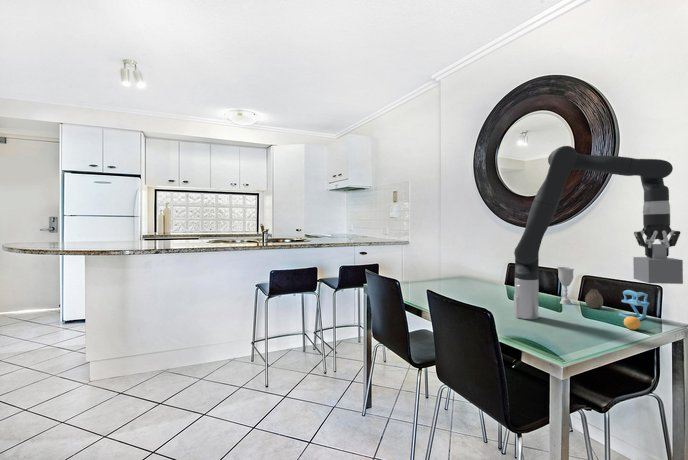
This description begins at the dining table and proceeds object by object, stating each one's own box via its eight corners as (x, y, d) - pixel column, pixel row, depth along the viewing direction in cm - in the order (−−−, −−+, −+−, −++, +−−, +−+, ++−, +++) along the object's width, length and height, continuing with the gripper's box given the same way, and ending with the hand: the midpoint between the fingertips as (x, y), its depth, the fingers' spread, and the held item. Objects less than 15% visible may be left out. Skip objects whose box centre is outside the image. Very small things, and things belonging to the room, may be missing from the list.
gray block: (648, 283, 123) (648, 245, 122) (633, 278, 132) (633, 243, 132) (682, 283, 120) (682, 245, 119) (664, 279, 129) (664, 243, 129)
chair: (652, 319, 138) (652, 291, 138) (637, 321, 136) (637, 292, 136) (632, 314, 146) (633, 287, 145) (618, 315, 144) (618, 288, 144)
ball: (627, 330, 125) (627, 317, 125) (621, 326, 130) (621, 314, 130) (643, 331, 124) (643, 318, 123) (636, 327, 128) (636, 315, 128)
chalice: (574, 302, 167) (574, 267, 167) (574, 305, 161) (575, 269, 161) (557, 300, 171) (557, 266, 171) (557, 303, 165) (557, 268, 165)
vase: (606, 309, 153) (606, 291, 153) (589, 309, 155) (589, 291, 155) (598, 306, 160) (598, 288, 160) (582, 305, 162) (582, 287, 161)
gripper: (639, 213, 124) (640, 258, 124) (686, 212, 120) (687, 258, 120) (628, 214, 131) (629, 256, 131) (672, 212, 127) (673, 256, 127)
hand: (656, 257), depth 126 cm, fingers closed on gray block, 4 cm apart
